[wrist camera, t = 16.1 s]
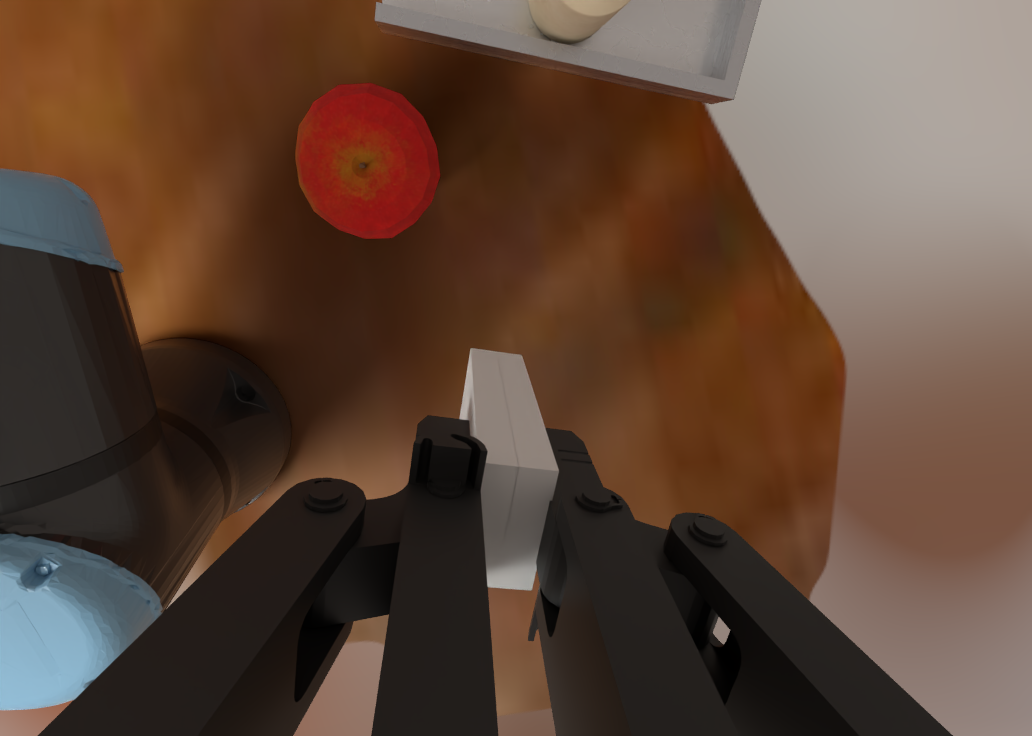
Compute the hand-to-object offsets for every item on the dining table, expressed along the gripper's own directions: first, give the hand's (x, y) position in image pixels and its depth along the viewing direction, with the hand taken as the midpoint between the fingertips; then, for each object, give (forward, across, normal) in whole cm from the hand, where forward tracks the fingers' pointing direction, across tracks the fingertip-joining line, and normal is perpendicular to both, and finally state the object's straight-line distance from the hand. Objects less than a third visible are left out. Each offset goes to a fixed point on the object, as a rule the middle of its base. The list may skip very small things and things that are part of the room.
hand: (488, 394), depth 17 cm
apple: (+30, -7, +5) cm, 31 cm away
